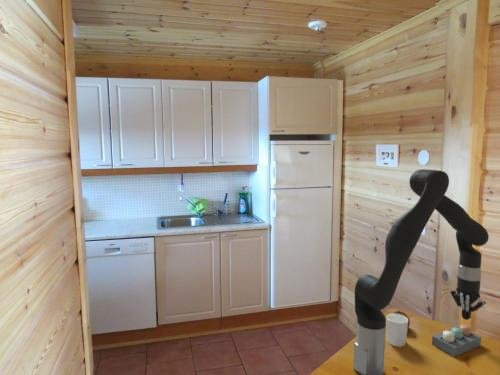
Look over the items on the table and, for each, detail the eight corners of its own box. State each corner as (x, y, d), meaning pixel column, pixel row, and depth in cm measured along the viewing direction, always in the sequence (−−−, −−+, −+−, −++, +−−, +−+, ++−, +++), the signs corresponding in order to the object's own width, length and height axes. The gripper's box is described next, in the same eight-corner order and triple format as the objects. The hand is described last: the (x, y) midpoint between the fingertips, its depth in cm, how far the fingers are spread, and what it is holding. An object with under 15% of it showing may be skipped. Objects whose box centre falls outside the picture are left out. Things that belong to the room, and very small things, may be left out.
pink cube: (466, 340, 136) (467, 330, 136) (456, 335, 140) (457, 325, 139) (472, 337, 138) (473, 327, 137) (462, 332, 141) (463, 323, 141)
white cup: (409, 348, 135) (410, 324, 133) (387, 346, 136) (388, 322, 135) (404, 337, 142) (405, 314, 141) (383, 335, 144) (384, 312, 143)
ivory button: (449, 346, 132) (450, 336, 131) (440, 341, 135) (440, 332, 135) (456, 344, 134) (456, 334, 133) (446, 339, 137) (447, 329, 136)
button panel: (454, 356, 129) (454, 347, 129) (431, 344, 137) (432, 335, 137) (480, 345, 136) (481, 336, 136) (458, 334, 144) (458, 326, 144)
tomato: (386, 328, 149) (387, 312, 148) (393, 321, 155) (393, 305, 154) (406, 334, 144) (407, 318, 143) (412, 326, 150) (413, 310, 149)
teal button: (458, 343, 134) (458, 333, 134) (448, 338, 137) (449, 328, 137) (464, 340, 136) (465, 331, 135) (454, 336, 139) (455, 326, 139)
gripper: (446, 272, 140) (444, 313, 142) (480, 284, 128) (477, 329, 130) (458, 269, 143) (455, 309, 145) (492, 280, 131) (489, 324, 134)
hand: (466, 318), depth 138 cm, fingers closed
